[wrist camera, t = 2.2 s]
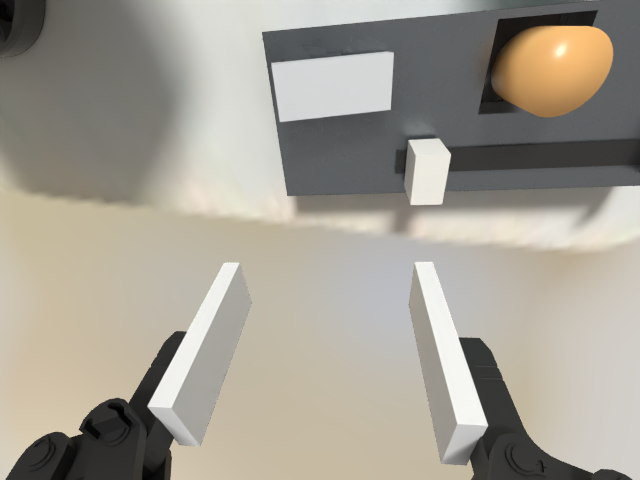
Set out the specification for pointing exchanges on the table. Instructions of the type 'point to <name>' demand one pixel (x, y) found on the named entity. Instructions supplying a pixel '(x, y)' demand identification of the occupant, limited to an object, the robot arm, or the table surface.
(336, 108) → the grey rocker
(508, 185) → the console panel
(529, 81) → the orange button
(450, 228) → the table surface
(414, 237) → the table surface
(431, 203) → the slider knob
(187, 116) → the table surface
